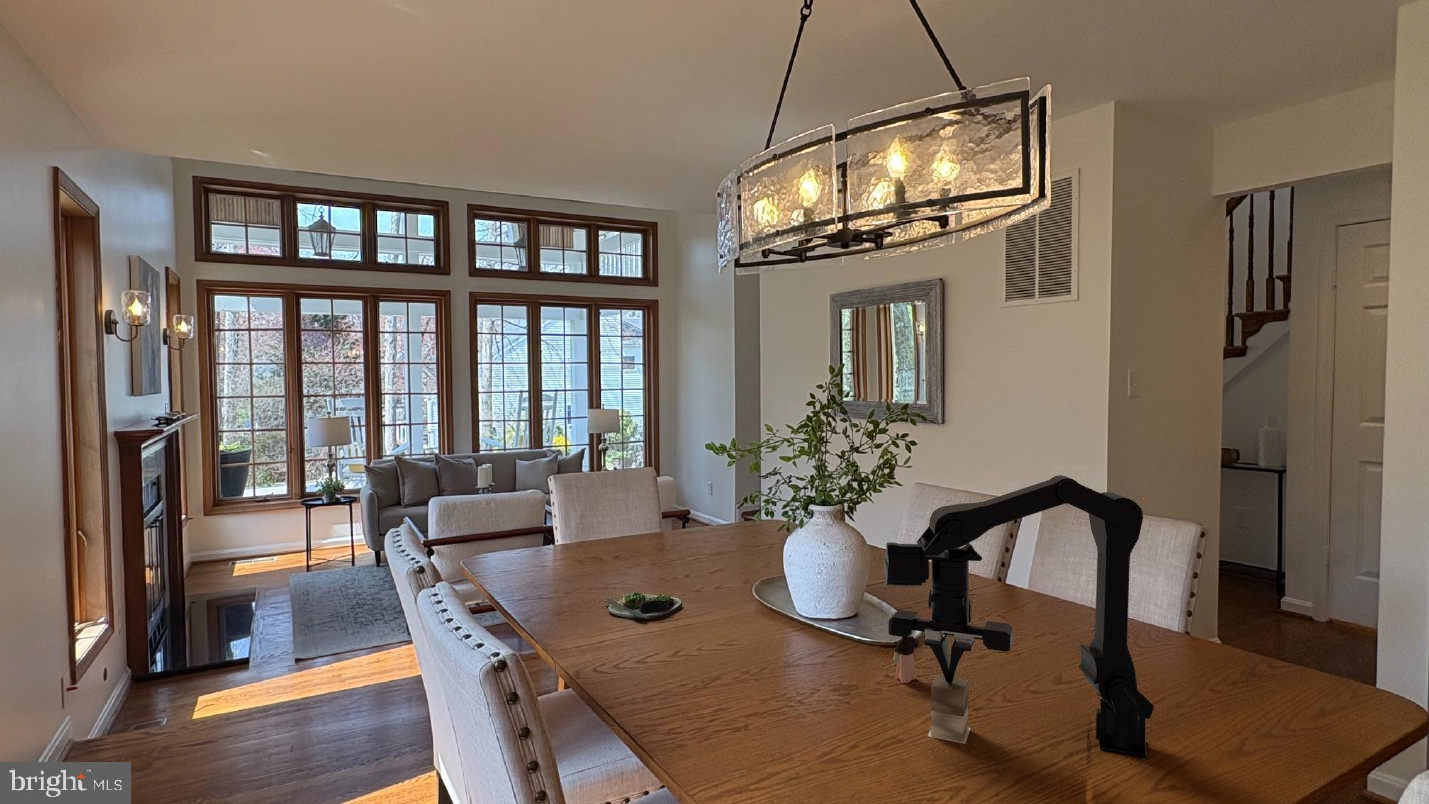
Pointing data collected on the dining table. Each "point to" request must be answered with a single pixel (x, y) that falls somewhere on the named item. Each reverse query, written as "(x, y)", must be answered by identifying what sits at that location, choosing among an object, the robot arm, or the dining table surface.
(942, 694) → the walnut block
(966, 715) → the maple block
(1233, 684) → the dining table surface
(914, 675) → the grandmother figurine
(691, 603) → the dining table surface
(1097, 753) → the dining table surface
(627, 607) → the salad plate
